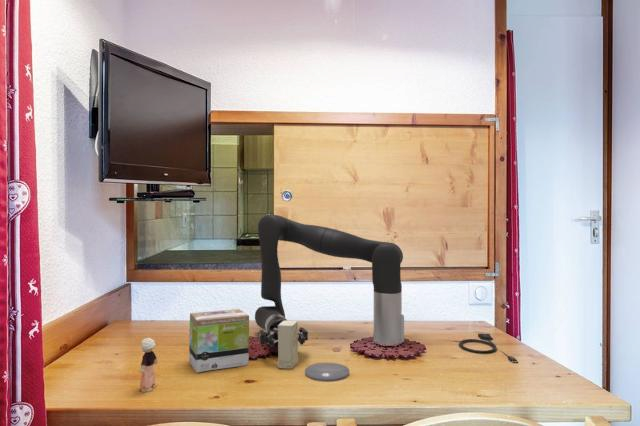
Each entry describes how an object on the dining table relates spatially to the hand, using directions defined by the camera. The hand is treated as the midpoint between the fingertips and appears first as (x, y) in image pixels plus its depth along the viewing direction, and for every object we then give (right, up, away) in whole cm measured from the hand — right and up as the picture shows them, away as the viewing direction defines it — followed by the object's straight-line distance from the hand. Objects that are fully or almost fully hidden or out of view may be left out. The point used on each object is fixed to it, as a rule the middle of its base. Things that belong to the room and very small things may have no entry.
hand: (287, 342), depth 132 cm
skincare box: (0, -7, 0) cm, 7 cm away
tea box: (-20, -7, +1) cm, 21 cm away
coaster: (+11, -7, -6) cm, 14 cm away
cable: (+61, -7, +16) cm, 64 cm away
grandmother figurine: (-33, -7, -17) cm, 38 cm away
